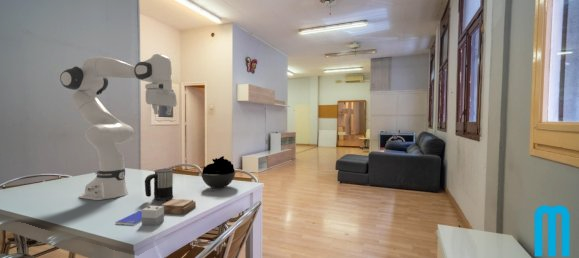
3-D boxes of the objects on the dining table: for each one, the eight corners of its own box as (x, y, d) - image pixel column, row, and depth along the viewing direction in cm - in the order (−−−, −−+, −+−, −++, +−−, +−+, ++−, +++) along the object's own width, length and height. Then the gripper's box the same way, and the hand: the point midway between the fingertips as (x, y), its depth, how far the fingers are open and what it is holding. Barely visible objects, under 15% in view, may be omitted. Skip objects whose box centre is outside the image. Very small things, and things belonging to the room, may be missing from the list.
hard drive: (134, 222, 98) (155, 211, 110) (115, 221, 99) (138, 210, 111) (134, 226, 98) (155, 215, 110) (115, 225, 99) (138, 214, 111)
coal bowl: (217, 194, 140) (217, 161, 140) (194, 189, 150) (194, 158, 150) (242, 186, 157) (242, 156, 157) (219, 182, 168) (219, 154, 167)
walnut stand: (158, 213, 111) (158, 205, 111) (172, 205, 121) (172, 198, 121) (184, 214, 110) (184, 206, 110) (195, 206, 120) (195, 199, 120)
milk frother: (164, 194, 140) (164, 168, 139) (187, 197, 134) (187, 170, 134) (141, 202, 126) (141, 172, 126) (166, 205, 121) (165, 175, 121)
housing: (141, 224, 99) (141, 209, 99) (150, 220, 104) (150, 204, 104) (155, 225, 98) (155, 209, 98) (163, 220, 103) (163, 205, 103)
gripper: (168, 90, 138) (169, 115, 138) (142, 84, 118) (143, 113, 118) (179, 89, 137) (179, 115, 138) (155, 84, 117) (155, 113, 117)
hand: (162, 114), depth 128 cm, fingers open, 8 cm apart
